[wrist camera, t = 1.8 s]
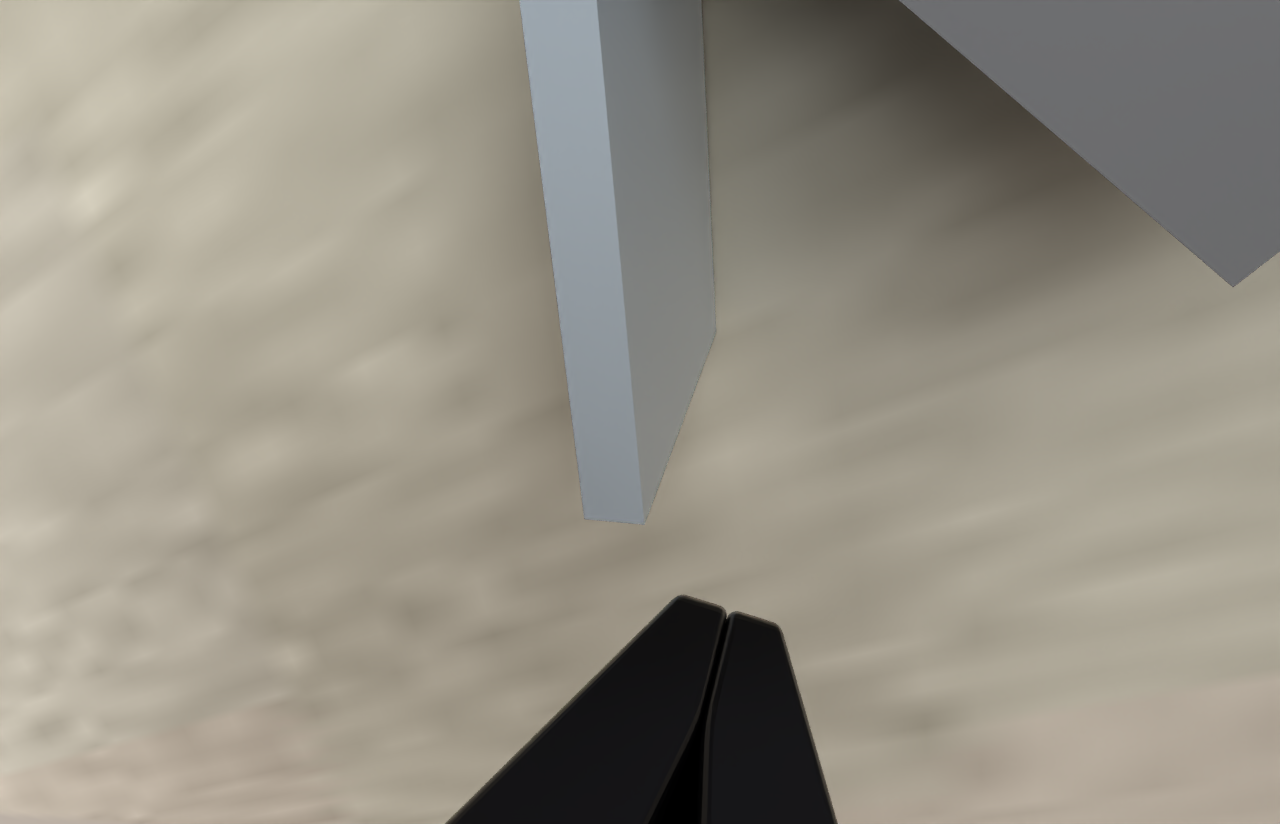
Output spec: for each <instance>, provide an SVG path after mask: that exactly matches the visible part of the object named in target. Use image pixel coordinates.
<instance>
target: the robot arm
mask: <svg viewBox="0 0 1280 824" xmlns="http://www.w3.org/2000/svg"><path fill="white" fill-rule="evenodd" d="M726 618H727V619H726ZM445 824H838V823H837V819H836V816H835V812H834V809H833V805H832V802H831V798H830V795H829V792H828V788H827V785H826V781H825V778H824V774H823V771H822V767H821V764H820V760H819V757H818V753H817V750H816V746H815V743H814V739H813V736H812V733H811V729H810V726H809V722H808V719H807V715H806V712H805V708H804V705H803V701H802V698H801V694H800V691H799V687H798V684H797V680H796V677H795V674H794V670H793V667H792V663H791V660H790V656H789V653H788V649H787V646H786V642H785V639H784V636H783V633H782V630H781V628H780V627H779V626H778V625H777V624H776V623H774V622H771V621H767V620H764V619H761V618H758V617H755V616H751V615H748V614H745V613H742V612H738V611H735V612H732V613H731V614H729V615H728V617H727V613H726V610H725V609H724V608H723V607H721V606H719V605H716V604H713V603H710V602H706V601H703V600H700V599H697V598H693V597H690V596H687V595H680V596H677V597H676V598H674V599H673V600H672V601H671V602H670V603H669V604H668V605H666V606H665V607H664V608H663V609H662V610H661V611H660V612H659V613H658V614H657V615H656V616H655V617H654V618H653V619H652V620H651V621H650V622H649V623H648V624H647V625H646V626H645V627H644V628H643V629H642V630H641V631H640V632H639V633H638V634H637V635H636V636H635V637H634V638H633V639H632V640H631V641H630V642H629V643H628V644H627V645H626V646H625V647H624V648H623V649H622V650H621V651H620V652H619V653H618V654H617V655H616V656H615V657H614V658H613V659H612V660H611V661H610V662H609V663H608V664H607V665H606V666H605V667H604V668H603V669H602V670H601V671H600V672H599V673H598V674H597V675H596V676H594V677H593V678H592V679H591V680H590V681H589V682H588V683H587V684H586V685H585V686H584V687H583V688H582V689H581V690H580V691H579V692H578V693H577V694H576V695H575V696H574V697H573V698H572V699H571V700H570V701H569V702H568V703H567V704H566V705H565V706H564V707H563V708H562V709H561V710H560V711H559V712H558V713H557V714H556V715H555V716H554V717H553V718H552V719H551V720H550V721H549V722H548V723H547V724H546V725H545V726H544V727H543V728H542V729H541V730H540V731H539V732H538V733H537V734H536V735H535V736H534V737H533V738H532V739H531V740H530V741H529V742H528V743H527V744H526V745H525V746H524V747H523V748H521V749H520V750H519V751H518V752H517V753H516V754H515V755H514V756H513V757H512V758H511V759H510V760H509V761H508V762H507V763H506V764H505V765H504V766H503V767H502V768H501V769H500V770H499V771H498V772H497V773H496V774H495V775H494V776H493V777H492V778H491V779H490V780H489V781H488V782H487V783H486V784H485V785H484V786H483V787H482V788H481V789H480V790H479V791H478V792H477V793H476V794H475V795H474V796H473V797H472V798H471V799H470V800H469V801H468V802H467V803H466V804H465V805H464V806H463V807H462V808H461V809H460V810H459V811H458V812H457V813H456V814H455V815H454V816H453V817H452V818H451V819H449V820H448V821H447V822H446V823H445Z"/></svg>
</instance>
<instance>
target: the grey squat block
mask: <svg viewBox="0 0 1280 824" xmlns="http://www.w3.org/2000/svg"><path fill="white" fill-rule="evenodd" d="M899 1H900V2H902V3H903V4H904V5H905V6H906V7H907V8H908V9H910V10H911V11H912V12H913V13H914V14H915V15H917V16H918V17H919V18H920V19H921V20H922V21H924V22H925V23H926V24H927V25H928V26H929V27H931V28H932V29H933V30H934V31H935V32H936V33H938V34H939V35H940V36H941V37H942V38H943V39H945V40H946V41H947V42H948V43H949V44H950V45H952V46H953V47H954V48H955V49H956V50H957V51H959V52H960V53H961V54H962V55H963V56H964V57H966V58H967V59H968V60H969V61H970V62H971V63H973V64H974V65H975V66H976V67H977V68H978V69H979V70H981V71H982V72H983V73H984V74H985V75H986V76H988V77H989V78H990V79H991V80H992V81H993V82H995V83H996V84H997V85H998V86H999V87H1000V88H1002V89H1003V90H1004V91H1005V92H1006V93H1007V94H1009V95H1010V96H1011V97H1012V98H1013V99H1014V100H1016V101H1017V102H1018V103H1019V104H1020V105H1021V106H1023V107H1024V108H1025V109H1026V110H1027V111H1028V112H1030V113H1031V114H1032V115H1033V116H1034V117H1035V118H1037V119H1038V120H1039V121H1040V122H1041V123H1042V124H1043V125H1045V126H1046V127H1047V128H1048V129H1049V130H1050V131H1052V132H1053V133H1054V134H1055V135H1056V136H1057V137H1059V138H1060V139H1061V140H1062V141H1063V142H1064V143H1066V144H1067V145H1068V146H1069V147H1070V148H1071V149H1073V150H1074V151H1075V152H1076V153H1077V154H1078V155H1080V156H1081V157H1082V158H1083V159H1084V160H1085V161H1087V162H1088V163H1089V164H1090V165H1091V166H1092V167H1094V168H1095V169H1096V170H1097V171H1098V172H1099V173H1101V174H1102V175H1103V176H1104V177H1105V178H1106V179H1108V180H1109V181H1110V182H1111V183H1112V184H1113V185H1114V186H1116V187H1117V188H1118V189H1119V190H1120V191H1121V192H1123V193H1124V194H1125V195H1126V196H1127V197H1128V198H1130V199H1131V200H1132V201H1133V202H1134V203H1135V204H1137V205H1138V206H1139V207H1140V208H1141V209H1142V210H1144V211H1145V212H1146V213H1147V214H1148V215H1149V216H1151V217H1152V218H1153V219H1154V220H1155V221H1156V222H1158V223H1159V224H1160V225H1161V226H1162V227H1163V228H1165V229H1166V230H1167V231H1168V232H1169V233H1170V234H1172V235H1173V236H1174V237H1175V238H1176V239H1177V240H1178V241H1180V242H1181V243H1182V244H1183V245H1184V246H1185V247H1187V248H1188V249H1189V250H1190V251H1191V252H1192V253H1194V254H1195V255H1196V256H1197V257H1198V258H1199V259H1201V260H1202V261H1203V262H1204V263H1205V264H1206V265H1208V266H1209V267H1210V268H1211V269H1212V270H1213V271H1215V272H1216V273H1217V274H1218V275H1219V276H1220V277H1222V278H1223V279H1224V280H1225V281H1226V282H1227V283H1229V284H1230V285H1231V286H1232V287H1234V286H1235V285H1237V284H1238V283H1239V282H1241V281H1242V280H1243V279H1244V278H1246V277H1247V276H1248V275H1250V274H1251V273H1252V272H1254V271H1255V270H1256V269H1257V268H1259V267H1260V266H1261V265H1263V264H1264V263H1265V262H1267V261H1268V260H1269V259H1270V258H1272V257H1273V256H1274V255H1276V254H1277V253H1278V252H1279V251H1280V0H899Z"/></svg>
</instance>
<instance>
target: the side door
mask: <svg viewBox="0 0 1280 824" xmlns="http://www.w3.org/2000/svg"><path fill="white" fill-rule="evenodd" d="M519 1H520V9H521V17H522V25H523V33H524V41H525V49H526V57H527V65H528V73H529V81H530V89H531V97H532V105H533V113H534V121H535V129H536V137H537V145H538V153H539V161H540V169H541V177H542V185H543V193H544V201H545V209H546V217H547V225H548V233H549V240H550V248H551V256H552V264H553V272H554V280H555V288H556V296H557V304H558V312H559V320H560V328H561V336H562V344H563V352H564V360H565V368H566V376H567V384H568V392H569V400H570V408H571V416H572V424H573V432H574V440H575V448H576V456H577V464H578V472H579V480H580V488H581V496H582V504H583V512H584V519H589V520H599V521H610V522H621V523H631V524H642V525H645V522H646V519H647V516H648V514H649V511H650V508H651V506H652V503H653V500H654V498H655V495H656V492H657V490H658V487H659V484H660V482H661V479H662V476H663V474H664V471H665V468H666V465H667V463H668V460H669V457H670V455H671V452H672V449H673V447H674V444H675V441H676V439H677V436H678V433H679V431H680V428H681V425H682V422H683V420H684V417H685V414H686V412H687V409H688V406H689V404H690V401H691V398H692V396H693V393H694V390H695V388H696V385H697V382H698V380H699V377H700V374H701V371H702V369H703V366H704V363H705V361H706V358H707V355H708V353H709V350H710V347H711V345H712V342H713V339H714V337H715V334H716V314H715V292H714V270H713V247H712V225H711V203H710V180H709V158H708V136H707V113H706V91H705V69H704V46H703V24H702V2H701V0H519Z"/></svg>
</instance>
